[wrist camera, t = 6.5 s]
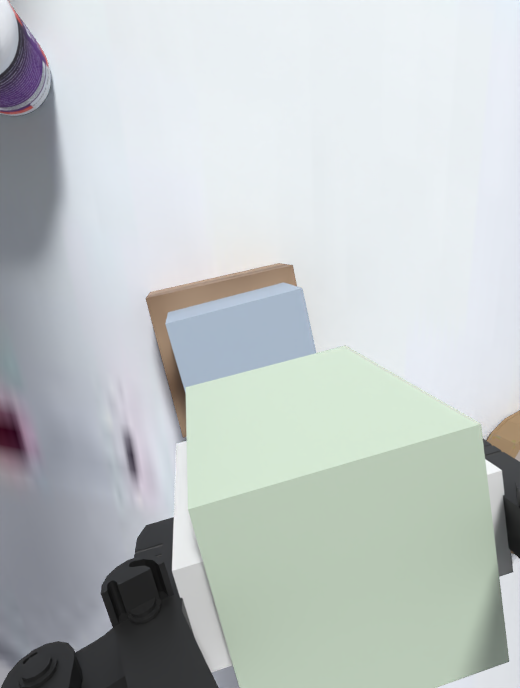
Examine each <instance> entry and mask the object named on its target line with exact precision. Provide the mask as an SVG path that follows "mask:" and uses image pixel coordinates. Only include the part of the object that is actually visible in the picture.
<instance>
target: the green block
mask: <svg viewBox="0 0 520 688" xmlns="http://www.w3.org/2000/svg"><path fill="white" fill-rule="evenodd" d="M186 437H187V487H188V511H189V515H190V518H191V522H192V525H193V529H194V532H195V535H196V539H197V542H198V546H199V549H200V553H201V556H202V560H203V563H204V567H205V570H206V574H207V577H208V580H209V584H210V587H211V591H212V594H213V598H214V601H215V605H216V608H217V612H218V615H219V619H220V622H221V625H222V629H223V632H224V636H225V639H226V643H227V646H228V650H229V653H230V657H231V660H232V663H233V667H234V670H235V674H236V677H237V681H238V684H239V688H437V687H439V686H442V685H445V684H448V683H451V682H453V681H456V680H459V679H462V678H465V677H467V676H470V675H473V674H476V673H479V672H481V671H484V670H487V669H490V668H493V667H495V666H498V665H501V664H504V663H507V662H509V656H508V648H507V639H506V631H505V622H504V614H503V605H502V597H501V589H500V580H499V572H498V563H497V555H496V546H495V538H494V530H493V521H492V513H491V504H490V496H489V487H488V479H487V471H486V462H485V454H484V445H483V437H482V428H481V424H480V423H478V422H477V421H475V420H473V419H471V418H470V417H468V416H466V415H464V414H463V413H461V412H459V411H458V410H456V409H454V408H452V407H451V406H449V405H447V404H445V403H444V402H442V401H440V400H439V399H437V398H435V397H433V396H432V395H430V394H428V393H426V392H425V391H423V390H421V389H420V388H418V387H416V386H414V385H413V384H411V383H409V382H407V381H406V380H404V379H402V378H400V377H399V376H397V375H395V374H394V373H392V372H390V371H388V370H387V369H385V368H383V367H381V366H380V365H378V364H376V363H375V362H373V361H371V360H369V359H368V358H366V357H364V356H362V355H361V354H359V353H357V352H356V351H354V350H352V349H350V348H349V347H347V346H342V347H338V348H334V349H330V350H327V351H323V352H319V353H315V354H311V355H308V356H304V357H300V358H296V359H292V360H288V361H285V362H281V363H277V364H273V365H269V366H265V367H262V368H258V369H254V370H250V371H246V372H242V373H239V374H235V375H231V376H227V377H223V378H219V379H216V380H212V381H208V382H204V383H200V384H196V385H193V386H189V387H186Z"/></svg>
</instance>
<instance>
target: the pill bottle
mask: <svg viewBox="0 0 520 688" xmlns="http://www.w3.org/2000/svg"><path fill="white" fill-rule="evenodd" d="M50 84H51V72H50V67H49V63H48V60H47V58H46V56H45V54H44V52H43V50H42V48H41V47H40V45H39V44H38V42H37V41H36V39H35V38H34V37H33V35H32V34H31V32H30V31H29V30H28V28H27V27H26V25H25V24H24V23H23V21H22V20H21V18H20V17H19V16H18V14H17V13H16V11H15V10H14V8H13V7H12V6H11V4H10V3H9V1H8V0H0V114H4V115H9V116H19V115H24V114H28V113H30V112H32V111H34V110H35V109H37V108H38V107H39V106H40V105H41V104H42V103H43V102H44V100H45V99H46V97H47V95H48V92H49V89H50Z"/></svg>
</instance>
